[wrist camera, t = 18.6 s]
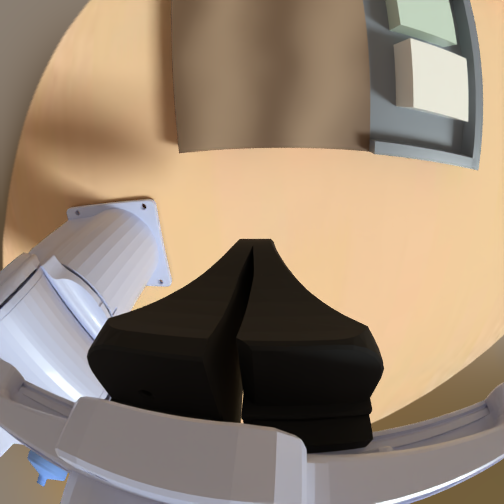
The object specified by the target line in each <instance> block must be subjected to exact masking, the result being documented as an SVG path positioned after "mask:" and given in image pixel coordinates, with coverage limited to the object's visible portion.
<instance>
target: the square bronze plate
mask: <svg viewBox="0 0 504 504" xmlns="http://www.w3.org/2000/svg"><path fill="white" fill-rule="evenodd" d="M171 32H172V65H173V85H174V100H175V113H176V125H177V136H178V146H179V153H186V152H196V151H208V150H223V149H242V148H326V149H345V150H359V151H369V144H370V68H369V52H368V39H367V29H366V20H365V12H364V5H363V0H171Z"/></svg>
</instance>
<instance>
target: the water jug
mask: <svg viewBox="0 0 504 504" xmlns="http://www.w3.org/2000/svg"><path fill="white" fill-rule="evenodd" d="M28 460H29V461H30V463H31V464H32V465H33V466H34V468H35V469H36V470H37V472H38V473H39V477H38V481H37V483H39V484H40V485H42V486H44V485H45V483H46V480H47V479H53V480H61V481H64V480H65V478H66V476H67V472H66V471H64V470H63V469H61V468H59V467H57V466H56V465H54V464H52V463H51V462H49V461H47V460H46V459H44V458H43V457H41V456H39V455H38V454H36V453H35V452H33V451H32V450H30V452H29V455H28Z"/></svg>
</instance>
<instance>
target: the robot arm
mask: <svg viewBox="0 0 504 504" xmlns="http://www.w3.org/2000/svg"><path fill="white" fill-rule="evenodd" d="M142 204H145V205H146V208H144V207H143V206H142ZM78 211H79V212H80V214H79V213H78ZM67 217H68V221H67V222H65V223H64V224H63V225H61V226H60V227H59V228H57V229H56V230H55V231H53V232H52V233H51V234H50V235H48V236H47V237H46V238H45V239H43V240H42V241H41V242H40V243H38V244H37V245H36V246H35V247H34V248H32V250H31V251H30V252H29V253H22V254H21V255H19V256H18V257H17V258H16V259H14V260H13V261H12V262H11V263H10V264H8V265H7V266H6V267H5V268H4V269H3V270H2V271H0V457H1V456H2V455H3V454H4V453H5V452H6V451H7V450H8V449H9V448H10V447H11V445H12V444H23V445H25V446H26V447H27V448H29V449H30V450H32V451H33V452H35V453H36V454H38V455H39V456H41V457H43V458H44V459H46V460H47V461H49V462H51V463H52V464H54V465H56V466H57V467H59V468H61V469H63V470H64V471H66V472H68V473H70V474H69V477H68V480H67V483H66V486H65V489H64V492H63V496H62V499H61V502H60V504H410V503H413V502H415V501H418V500H421V499H424V498H426V497H429V496H432V495H434V494H437V493H439V492H441V491H443V490H446V489H448V488H450V487H453V486H455V485H457V484H459V483H461V482H463V481H465V480H467V479H469V478H471V477H473V476H475V475H477V474H478V473H480V472H482V471H484V470H485V469H487V468H489V467H491V466H492V465H494V464H496V463H497V462H499V461H500V460H502V459H503V458H504V382H503V383H501V384H500V385H498V386H497V387H496V388H495V389H494V390H492V392H491V393H490V394H489V395H488V396H487V398H486V399H485V400H483V401H481V402H479V403H476V404H474V405H471V406H468V407H466V408H463V409H460V410H457V411H454V412H451V413H449V414H445V415H442V416H439V417H436V418H433V419H429V420H425V421H422V422H418V423H414V424H410V425H406V426H401V427H397V428H392V429H387V430H382V431H377V432H372V428H371V422H370V417H369V414H370V413H371V412H372V406H371V401H370V397H371V395H372V393H373V392H374V390H375V388H376V386H377V384H378V382H379V381H380V379H381V376H382V373H383V370H384V366H383V360H382V357H381V354H380V351H379V348H378V346H377V344H376V342H375V339H374V337H373V336H372V334H371V332H370V330H369V328H368V326H366V325H364V324H362V323H359V322H357V321H355V320H353V319H351V318H349V317H347V316H345V315H343V314H341V313H339V312H338V311H336V310H334V309H333V308H331V307H329V306H328V305H326V304H325V303H323V302H322V301H321V300H319V299H318V298H317V297H315V296H314V295H313V294H311V293H310V292H309V291H308V290H307V289H306V288H305V287H304V286H303V285H302V284H301V283H300V282H299V281H298V280H297V279H296V278H295V276H294V275H293V274H292V273H291V271H290V270H289V269H288V268H287V266H286V265H285V263H284V262H283V260H282V259H281V257H280V255H279V254H278V252H277V250H276V248H275V245H274V242H273V241H272V240H271V239H239V240H238V241H237V242H236V243H235V244H234V245H233V246H232V248H231V249H230V250H229V251H228V252H227V253H226V254H225V255H224V256H223V257H222V258H221V259H220V260H219V261H218V262H216V263H215V264H214V265H213V266H212V267H211V268H209V269H208V270H207V271H206V272H205V273H203V274H202V275H201V276H199V277H198V278H197V279H195V280H194V281H192V282H191V283H189V284H188V285H186V286H185V287H183V288H181V289H179V290H178V291H176V292H174V293H172V294H170V295H168V296H167V297H165V298H163V299H160V300H158V301H156V302H154V303H151V304H149V305H147V306H144V307H142V308H139V309H136V310H133V311H131V309H132V308H133V306H134V304H135V303H136V301H137V299H138V297H139V296H140V294H141V292H142V291H143V289H144V288H145V286H170V285H171V283H172V278H171V274H170V270H169V265H168V261H167V256H166V252H165V247H164V242H163V237H162V232H161V227H160V222H159V217H158V211H157V206H156V202H155V201H154V200H152V199H142V200H131V201H120V202H111V203H102V204H93V205H85V206H77V207H71V208H69V209H68V210H67ZM160 280H162V281H163V282H161V281H160ZM242 394H244V395H243V404H242ZM241 409H242V413H241ZM241 418H242V419H243V422H244V424H243V423H241Z"/></svg>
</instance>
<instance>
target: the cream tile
mask: <svg viewBox="0 0 504 504" xmlns="http://www.w3.org/2000/svg"><path fill="white" fill-rule="evenodd" d="M393 46H394V58H395V77H396V106H397V107H402V108H407V109H412V110H417V111H421V112H426V113H430V114H434V115H438V116H442V117H446V118H450V119H456V120H461V121H466V122H468V73H467V61H466V58H464V57H461V56H459V55H457V54H454V53H452V52H449V51H447V50H444V49H442V48H439V47H436V46H433V45H430V44H427V43H424V42H421V41H418V40H415V39H412V38H409V39H407V40H404V41H402V42H399V43H397V44H395V45H393Z"/></svg>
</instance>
